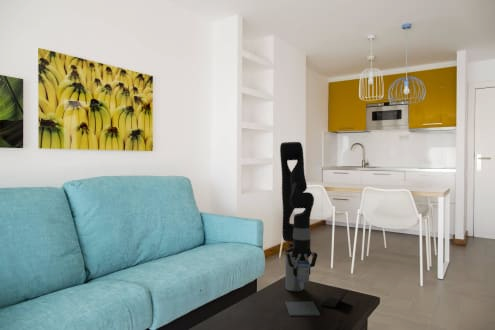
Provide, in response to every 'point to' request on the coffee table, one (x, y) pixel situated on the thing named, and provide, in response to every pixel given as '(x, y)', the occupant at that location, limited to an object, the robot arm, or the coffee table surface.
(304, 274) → the medicine box
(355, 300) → the coffee table surface
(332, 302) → the handheld gaming console
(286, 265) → the robot arm
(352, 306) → the coffee table surface
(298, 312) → the rubber mat
